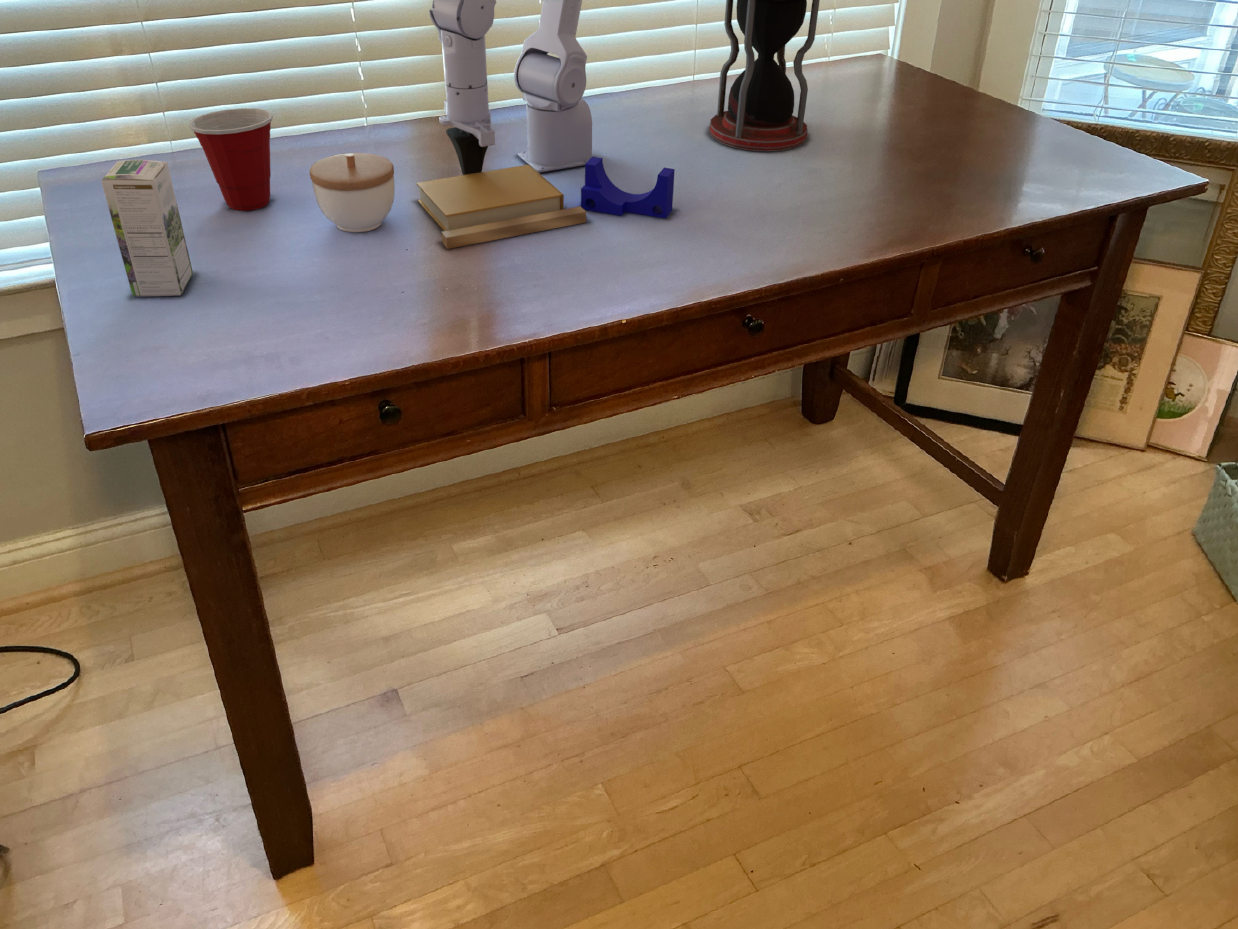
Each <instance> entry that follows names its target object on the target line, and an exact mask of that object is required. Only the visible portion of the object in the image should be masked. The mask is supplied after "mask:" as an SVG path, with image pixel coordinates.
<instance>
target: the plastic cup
mask: <svg viewBox="0 0 1238 929" xmlns="http://www.w3.org/2000/svg"><path fill="white" fill-rule="evenodd" d="M273 116H274V113H273V112H272V111H270V110H268V109H263V108H255V107H254V108H251V107H250V108H249V107H241V108H230V109H229V108H228V109H223V110H217V111H211V112H209V113H205V114H201V115H198V116H196V117H194V118H192V119H191V120H190V121H189V123H188V124H187V126H188V128H189V129H190V130H191V131H192V132H193V133H194V135H195V137H196V139H197V140H198V142H199V145H200V146H201V148H202V150H203V152H204V155H205V157H206V159H207V162H208V164H209V167H210V169H211V172H212V173H213V177H214V179H215V181H216V183H217V185H218V187H219V189H220V192H221V194H222V197H223V200H224V202H225V203H226V205H227V206H228V207H229V209H232V210H234V211H242V212H243V211H244V212H245V211H255V210H259V209H262V208H264V207H266V206H268V204H270V201H271V200H270V199H271V176H272V175H271V174H272V173H271V171H272V170H271V128H272V127H271V124H272V121H273Z"/></svg>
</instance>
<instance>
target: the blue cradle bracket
mask: <svg viewBox="0 0 1238 929" xmlns="http://www.w3.org/2000/svg"><path fill="white" fill-rule="evenodd" d="M655 182H656V183H655V185H654V187H653V188H652V189H650V190H649V191H647V192H643V193H630V192H627V191H624V190H622V189H621V188H619V187H618V186H616V185H615V183H614V182H612V181H611V179H610V178H609V176H608V175H607V172H606V170H605V167H604V160H603V157H598V156H592V158H590V159H589V160H588V161H587V162H586V163H585V165H584V185H583V186H582V187H581V188H580V207H581V208H583V209H584V210H585V211H589V212H595V213H602V214H607V215H613V216H619V217H622V216H623V215H624V214H625V213H630V214H636V215H640V216H641V215H642V216H647V217H654V218H659V219H667V218H668V217H669V215H670V214H671V213H672V211H673V206H674V205H673V204H674V203H673V202H674V188H675V187H674V186H675V185H674V184H675V168H670V167H663V168H662V169H661V170H660V172H659V173H658V174H657V176H656V181H655Z"/></svg>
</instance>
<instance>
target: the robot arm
mask: <svg viewBox="0 0 1238 929" xmlns="http://www.w3.org/2000/svg"><path fill="white" fill-rule="evenodd" d="M496 4H497V0H432V4H431V8H430V9H429V11H428V13H429V17H430V20H431V23H432V24H433V26H434V27H435V28H436V30H437V34H438V41H439V42H440V44H441V48H442V50H441V51H442V61H443V77H444V88H445V90H444V91H445V100H443V106H444V108H443V109H444V114H445V115H442V116H439V118H438V121H439V123H440V124H441V125H442V126H443V127H444V126H445V127H446V126H447V127H448V126H451V127H450V128H447V129H446V130H445V132H446V135H447V136H448V138H449V140H450V141H451V143H452V145H453V148H454V150H455V153H456V156H457V159H458V162H459V166H460V171H461V173H462V175H467V174H473V173H479V172H483V167H484V162H485V156H486V154H487V150H488V148H489V147H490V146H496V134H495V133H496V132H495V130H494V129H493V127H492V115H491V113H490V108H489V106H490V105H489V87H488V68H487V49H486V48H487V47H486V34H487V33H488V32H489V30H490V29H491V28H492V26H493V24H494V19H495V7H496ZM541 4H542V5H541V11H540V17H539V22H538V27H537V28H538V29H536V30H535V31H534V32H533V33H531V34H530V35H529V36H527V37H526V38H525V39H524V40H523V45H522V50H521V53H520V55H519V57H518V59H517V60H516V63H515V66H514V70H513V79H514V84H515V86H516V88H517V89H518V90H519V92H521V93H522V100H523V101H524V102H525V103H526V104H525V105H526V106H525V107H526V108H525V109H526V110H525V111H526V139H527V140H526V142H527V143H526V144H527V150H526V151H519V152H518V153H517V155H518V157H519V158H520V159H521V160H522V161H524V162H525V163H526V165H528V164H529V165H530V166H531V167H532V168H533V169H535V170H536V171H537V172H538V173H546V172H552V171H557V170H559V171H560V170H564V169H570V168H576V167H582V166H585V163H586V162H587V161H588V160H589V159H590V158H592V157H593V116H592V113H591V112H592V111H591V108H590V106H589V104H588V103H587V101H586V100H585V99H583V96H584V94H585V91H586V87H587V73H586V67H587V66H586V64H587V59H588V54H586V52H585V50H584V49H583V47H582V46H581V45H580V43H579V41H578V40H577V38H576V36H577V32H578V31H577V30H578V24H579V19H580V14H581V9H582V4H583V0H542V3H541ZM549 53H550V54H549ZM552 54H553V55H556V56H557V57H556V56H553V55H552Z"/></svg>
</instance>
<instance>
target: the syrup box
mask: <svg viewBox="0 0 1238 929" xmlns="http://www.w3.org/2000/svg"><path fill="white" fill-rule="evenodd" d="M100 181H101V185H102V189H103V193H104V195H105V200H106V204H107V207H108V211H109V215H110V219H111V223H112V226H113V230H114V232H115V237H116V241H117V244H118V248H119V252H120V255H121V259H122V263H123V266H124V270H125V273H126V277H127V282H128V284H129V288H130V292H131V296H133V297H171V296H172V297H173V296H182V295H183V294H184V292H185V290H186V287H187V286H188V284H189V282H190V280H191V278H192V277H193V276H194V275H193V274H194V271H193V267H192V263H191V257H190V253H189V250H188V249H189V248H188V245H187V242H186V237H185V231H184V227H183V223H182V219H181V214H180V210H179V205H178V202H177V197H176V194H175V188H174V185H173V180H172V176H171V171H170V167H169V163H168V162H166V161H161V160H151V159H125V160H118V161H116V162H115V164H114V165H113V166H112V167H111V169H110V170H109V171H108V172H107V173H106V174H105V176H104V177H103V178H102V179H101V180H100Z"/></svg>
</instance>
